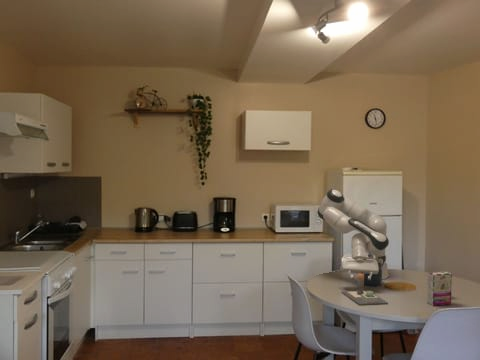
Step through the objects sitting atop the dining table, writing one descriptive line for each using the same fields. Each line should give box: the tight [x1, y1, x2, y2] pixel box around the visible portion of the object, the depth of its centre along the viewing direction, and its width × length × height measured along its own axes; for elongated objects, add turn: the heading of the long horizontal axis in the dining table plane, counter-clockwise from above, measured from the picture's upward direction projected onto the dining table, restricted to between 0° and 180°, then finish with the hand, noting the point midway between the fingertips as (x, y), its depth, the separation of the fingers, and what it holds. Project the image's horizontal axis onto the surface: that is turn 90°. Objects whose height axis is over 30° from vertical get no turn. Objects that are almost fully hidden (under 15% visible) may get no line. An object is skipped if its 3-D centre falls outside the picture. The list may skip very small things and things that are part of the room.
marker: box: [356, 273, 365, 295], centre depth 237 cm, size 4×4×11 cm
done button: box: [366, 290, 374, 297], centre depth 226 cm, size 4×4×3 cm
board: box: [340, 289, 389, 307], centre depth 233 cm, size 22×16×3 cm
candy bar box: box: [426, 270, 453, 307], centre depth 225 cm, size 11×5×16 cm, turn 105°
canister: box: [361, 258, 383, 287], centre depth 262 cm, size 13×13×18 cm
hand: (360, 279), depth 242 cm, fingers open, 8 cm apart
